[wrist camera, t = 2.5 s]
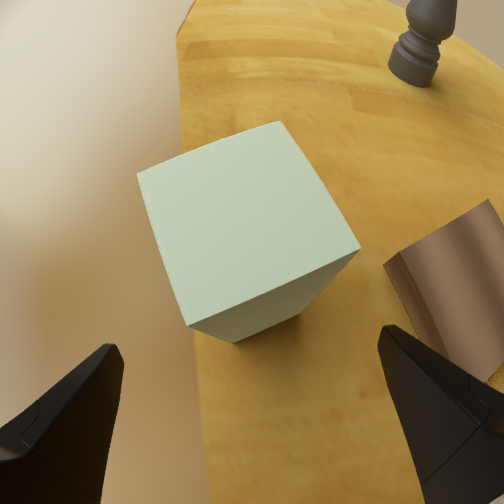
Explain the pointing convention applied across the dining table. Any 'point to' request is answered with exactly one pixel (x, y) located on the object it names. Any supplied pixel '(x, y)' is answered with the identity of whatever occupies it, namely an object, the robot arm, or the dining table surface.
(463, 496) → the robot arm
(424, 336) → the walnut block
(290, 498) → the dining table surface
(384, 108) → the dining table surface
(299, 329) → the dining table surface
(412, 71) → the candle holder
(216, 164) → the sage pillar block
